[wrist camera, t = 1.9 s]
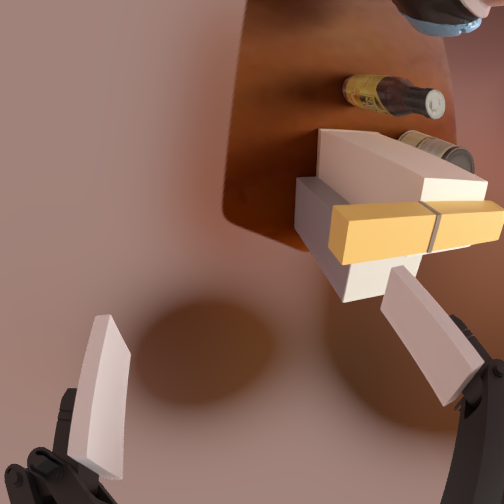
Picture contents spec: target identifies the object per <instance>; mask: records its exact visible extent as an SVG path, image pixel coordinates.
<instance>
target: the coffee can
mask: <svg viewBox="0 0 504 504" xmlns="http://www.w3.org/2000/svg"><path fill="white" fill-rule="evenodd" d="M398 141H400V142H403V143H405V144H408V145H410V146H413V147H415V148H418V149H420V150H423V151H425V152H427V153H430V154H432V155H434V156H437V157H439V158H441V159H443V160H445V161H447V162H450V163H452V164H454V165H456V166H458V167H460V168H462V169H464V170H466V171H468V172H470V173H472V174H474V160H473V157H472V155H471V153H470V152H469V151H468V150H467V149H466V148H463V147H459V146H456V145H454V144H451V143H449V142H446V141H443V140H440V139H438V138H435V137H432V136H429V135H426V134H423V133H420V132H418V131H415V130H411V131H407V132H405V133H404V134H402V135H401V136H400V137H399V139H398Z"/></svg>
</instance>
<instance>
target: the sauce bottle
mask: <svg viewBox="0 0 504 504" xmlns="http://www.w3.org/2000/svg"><path fill="white" fill-rule="evenodd" d="M342 91H343V95H344V97H345V99H346V100H347V101H348V102H349V103H350V104H352V105H354V106H356V107H358V108H363V109H367V110H371V111H376V112H380V113H384V114H388V115H392V116H396V117H400V116H403V115H407V114H412V113H415V114H421V115H424V116H425V117H427V118H431V119H438V118H440V117H441V116H442V115H443V113H444V110H445V100H444V97H443V95H442V94H441V92H439V91H438V90H436V89H431V88H426V89H424V88H419V87H415V86H414V85H413V84H412V82H410V81H409V80H407V79H404V78H400V77H394V76H386V75H370V74H356V75H352V76H349V77H348V78H347V79H346V80H345V81H344V84H343V87H342Z"/></svg>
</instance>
